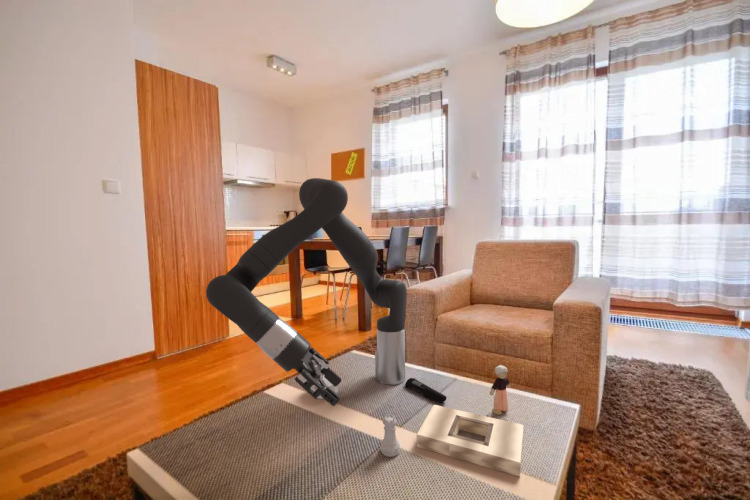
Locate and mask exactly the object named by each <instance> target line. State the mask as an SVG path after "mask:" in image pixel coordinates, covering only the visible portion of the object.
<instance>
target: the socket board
mask: <svg viewBox="0 0 750 500" xmlns="http://www.w3.org/2000/svg"><path fill="white" fill-rule="evenodd" d="M459 431H463V432H468V433H470V434H471V433H472V434H475V435H479V436H482V437H483V436H484V437H485V439H484V441H481V440H479V439H478V440H477V439H473V438H470V437H467V436H461V435H458V434H459ZM523 444H524V424H521V423H517V422H513V421H508V420H504V419H498V418H496V417H490V416H485V415H481V414H477V413H473V412H469V411H468V412H467V411H464V410H458V409H455V408H451V407H446V406H441V405H438V404H433V406H432V407H431V409H430V411H429V413H428V414H427V416H426V418H425V419H424V421H423V423H422V424H421V426H420V428H419V430H418V432H417V433H416V447H417V448H419V449H420V448H421V449H423V450H428V451H431V452H435V453H438V454H441V455H445V456H448V457H451V458H455V459H458V460H461V461H465V462H469V463H472V464H475V465H478V466H482V467H486V468H489V469H493V470H497V471H498V472H503V473H506V474H509V475H513V476H517V477H521V472H522V470H521V469H522V458H523Z"/></svg>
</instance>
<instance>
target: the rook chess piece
mask: <svg viewBox="0 0 750 500" xmlns="http://www.w3.org/2000/svg"><path fill="white" fill-rule="evenodd" d="M383 417H384V418H383V420H382V424H383V425H384V426H383V430H384V434H383V435H384V436H383V438H382V441H381V443H380V452H381V453H382V454H383V456H385V457H387V458H393V457H396V456H397V455H398V454H399V453H400V451H401V447H400V445H401V444H400V443H399V440H398V439H397V434H396V430H397V427H396V426H397V425H396V424H398V421H397V419H396V416H395V415H394V414H386V415H384V416H383Z"/></svg>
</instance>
